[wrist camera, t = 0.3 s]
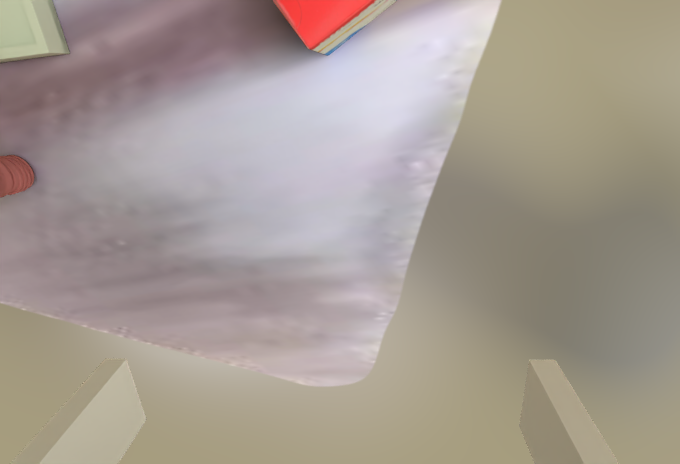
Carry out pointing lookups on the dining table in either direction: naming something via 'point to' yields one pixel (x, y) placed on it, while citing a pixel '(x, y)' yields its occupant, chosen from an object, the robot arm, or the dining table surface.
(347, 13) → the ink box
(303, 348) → the dining table surface
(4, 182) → the light bulb
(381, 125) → the dining table surface
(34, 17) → the tray
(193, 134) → the dining table surface
